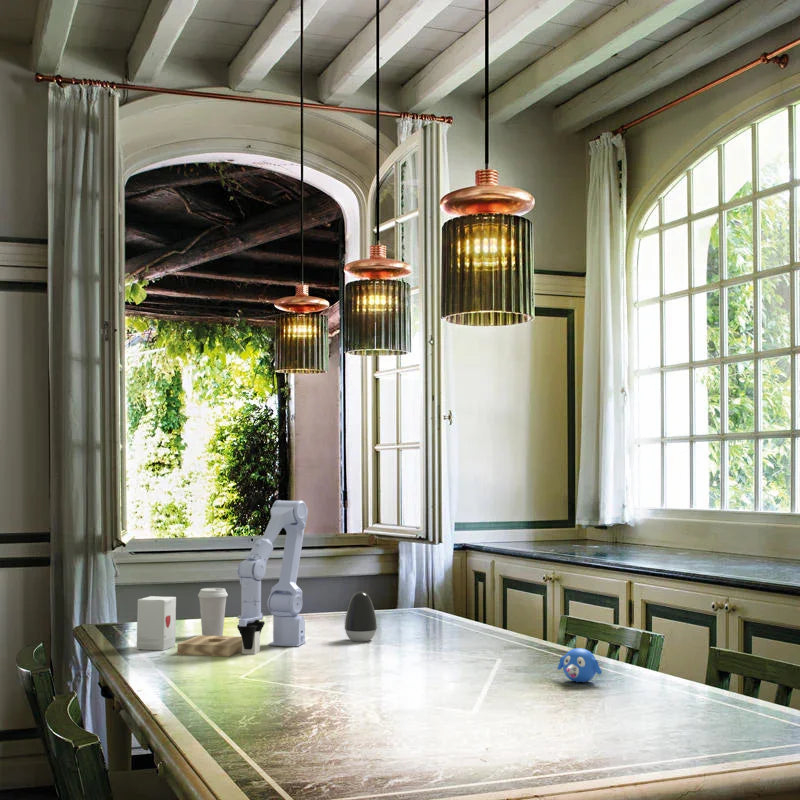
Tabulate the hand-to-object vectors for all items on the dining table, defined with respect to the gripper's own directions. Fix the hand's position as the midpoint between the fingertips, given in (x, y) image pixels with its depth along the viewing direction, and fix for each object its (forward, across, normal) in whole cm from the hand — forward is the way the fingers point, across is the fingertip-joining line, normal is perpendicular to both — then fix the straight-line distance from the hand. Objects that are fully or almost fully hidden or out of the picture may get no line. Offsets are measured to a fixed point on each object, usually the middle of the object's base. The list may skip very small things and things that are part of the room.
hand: (250, 647), depth 305 cm
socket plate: (+1, -1, -12) cm, 12 cm away
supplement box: (+2, -2, -31) cm, 31 cm away
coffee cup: (+2, -26, -23) cm, 35 cm away
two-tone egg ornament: (+2, -28, +26) cm, 38 cm away
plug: (+1, 0, 0) cm, 1 cm away
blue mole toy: (+2, +24, +96) cm, 99 cm away
